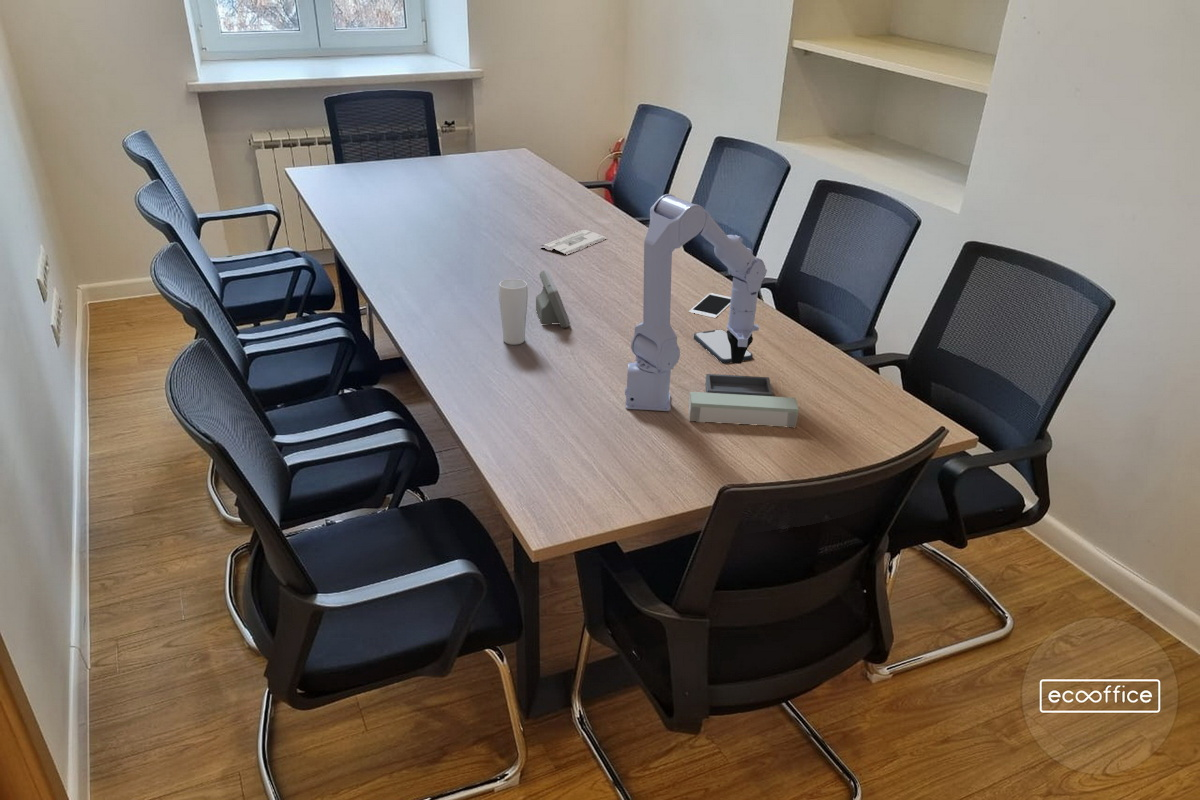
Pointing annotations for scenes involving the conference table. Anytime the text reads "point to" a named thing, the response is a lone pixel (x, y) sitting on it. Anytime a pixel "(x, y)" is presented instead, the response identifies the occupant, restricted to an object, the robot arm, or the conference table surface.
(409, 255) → the conference table surface
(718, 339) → the smartphone
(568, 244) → the newspaper
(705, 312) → the cell phone
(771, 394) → the shell tray
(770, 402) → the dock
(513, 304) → the drinking glass
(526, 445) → the conference table surface
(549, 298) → the digital clock
